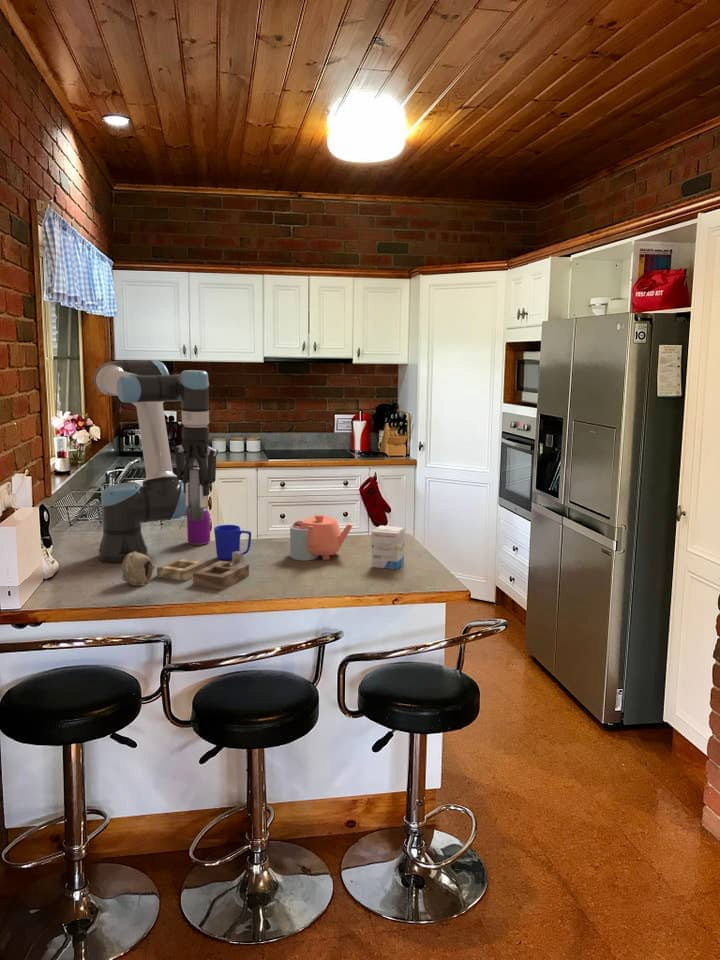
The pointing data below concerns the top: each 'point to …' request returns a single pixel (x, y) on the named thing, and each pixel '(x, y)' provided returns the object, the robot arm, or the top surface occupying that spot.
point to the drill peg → (195, 495)
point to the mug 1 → (229, 540)
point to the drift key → (237, 558)
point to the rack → (180, 569)
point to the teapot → (323, 535)
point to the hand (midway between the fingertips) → (196, 505)
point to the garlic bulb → (137, 569)
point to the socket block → (220, 575)
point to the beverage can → (199, 529)
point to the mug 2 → (299, 543)
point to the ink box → (388, 547)
